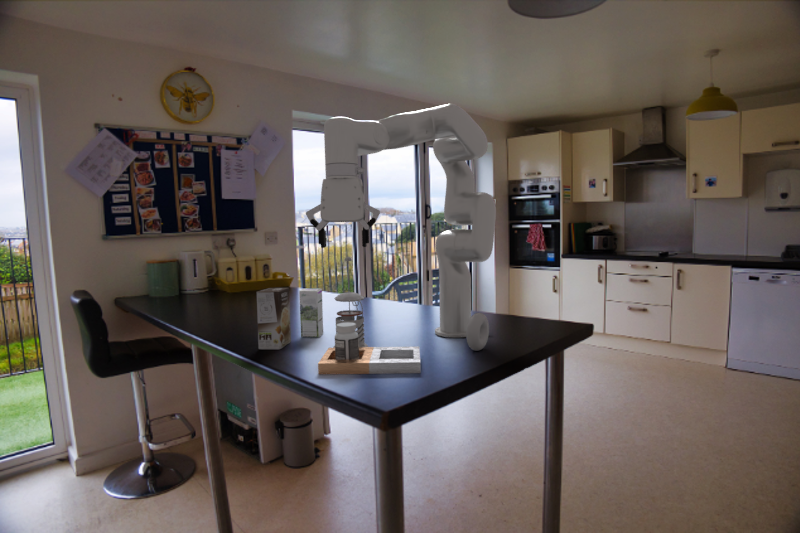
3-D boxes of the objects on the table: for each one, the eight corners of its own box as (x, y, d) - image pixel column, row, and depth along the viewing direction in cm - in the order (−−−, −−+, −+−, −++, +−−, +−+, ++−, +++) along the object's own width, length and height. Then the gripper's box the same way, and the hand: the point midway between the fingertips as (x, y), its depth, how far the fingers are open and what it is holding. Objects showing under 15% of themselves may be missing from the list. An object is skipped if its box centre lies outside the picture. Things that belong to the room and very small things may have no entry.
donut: (476, 355, 119) (476, 316, 118) (464, 354, 121) (463, 315, 120) (491, 346, 127) (491, 310, 127) (479, 345, 129) (479, 309, 128)
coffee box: (280, 349, 129) (278, 291, 127) (258, 349, 129) (255, 291, 128) (291, 341, 138) (289, 287, 136) (270, 341, 138) (268, 287, 137)
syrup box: (323, 333, 148) (322, 287, 147) (318, 337, 142) (317, 290, 141) (306, 333, 148) (304, 287, 147) (300, 337, 143) (298, 290, 141)
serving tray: (419, 356, 119) (419, 346, 119) (420, 373, 106) (420, 362, 105) (329, 357, 120) (328, 347, 120) (318, 374, 106) (318, 363, 106)
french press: (326, 350, 127) (323, 257, 125) (345, 340, 138) (343, 255, 136) (359, 353, 124) (356, 258, 122) (376, 342, 135) (374, 255, 133)
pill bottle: (357, 360, 117) (355, 321, 116) (361, 367, 111) (360, 325, 110) (334, 362, 115) (332, 322, 114) (337, 369, 110) (336, 327, 109)
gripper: (380, 174, 113) (381, 245, 114) (308, 176, 113) (310, 247, 115) (378, 170, 105) (379, 247, 107) (301, 172, 106) (303, 248, 107)
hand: (344, 247), depth 111 cm, fingers open, 9 cm apart
